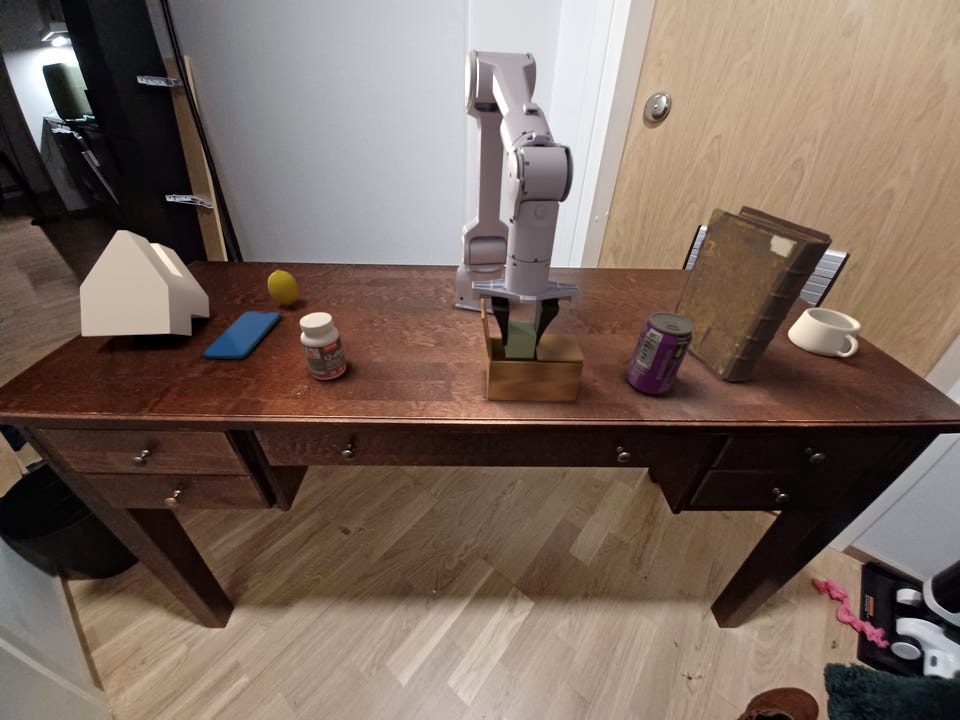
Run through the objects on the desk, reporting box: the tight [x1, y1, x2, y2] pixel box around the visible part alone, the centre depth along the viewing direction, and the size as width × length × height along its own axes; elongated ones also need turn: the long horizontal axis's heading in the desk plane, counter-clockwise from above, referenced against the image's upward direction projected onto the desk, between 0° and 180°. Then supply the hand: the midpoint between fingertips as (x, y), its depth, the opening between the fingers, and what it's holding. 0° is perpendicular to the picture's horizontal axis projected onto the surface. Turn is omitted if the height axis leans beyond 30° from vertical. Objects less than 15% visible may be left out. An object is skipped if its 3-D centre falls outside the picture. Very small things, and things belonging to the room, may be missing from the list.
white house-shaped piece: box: [79, 229, 210, 339], centre depth 68 cm, size 14×11×18 cm
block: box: [505, 320, 536, 358], centre depth 54 cm, size 4×4×4 cm
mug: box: [787, 307, 862, 358], centre depth 71 cm, size 12×10×6 cm
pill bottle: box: [299, 311, 347, 381], centre depth 59 cm, size 6×6×10 cm
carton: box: [486, 333, 585, 402], centre depth 58 cm, size 14×7×8 cm, turn 90°
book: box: [673, 205, 833, 382], centre depth 61 cm, size 17×7×25 cm, turn 9°
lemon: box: [267, 269, 299, 306], centre depth 77 cm, size 6×6×8 cm
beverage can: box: [625, 311, 693, 395], centre depth 58 cm, size 7×7×12 cm
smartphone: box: [202, 310, 282, 360], centre depth 69 cm, size 7×1×15 cm
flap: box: [481, 299, 491, 358], centre depth 53 cm, size 7×7×1 cm
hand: (519, 342), depth 55 cm, fingers closed on block, 4 cm apart
